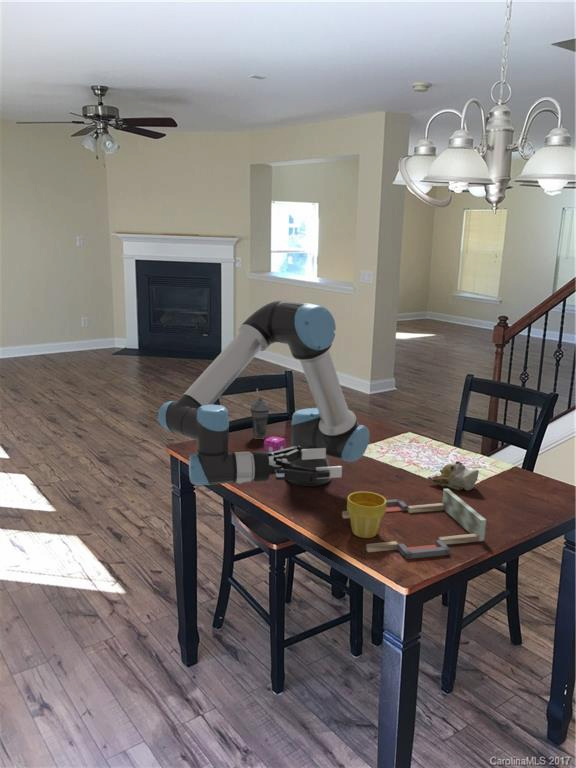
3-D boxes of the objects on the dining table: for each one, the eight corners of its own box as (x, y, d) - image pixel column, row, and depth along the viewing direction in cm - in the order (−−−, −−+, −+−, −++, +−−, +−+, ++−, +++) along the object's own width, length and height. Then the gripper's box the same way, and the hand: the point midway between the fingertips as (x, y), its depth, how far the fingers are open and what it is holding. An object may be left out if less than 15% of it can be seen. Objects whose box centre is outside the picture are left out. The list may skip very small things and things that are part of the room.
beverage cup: (270, 440, 239) (271, 390, 234) (251, 441, 237) (252, 391, 233) (266, 434, 246) (267, 385, 241) (248, 435, 244) (249, 386, 240)
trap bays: (362, 506, 182) (362, 502, 182) (400, 503, 185) (400, 498, 184) (405, 559, 153) (406, 553, 152) (450, 554, 155) (450, 549, 155)
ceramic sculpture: (472, 469, 189) (427, 461, 198) (471, 496, 191) (426, 486, 200) (485, 461, 197) (441, 453, 206) (483, 486, 199) (440, 477, 208)
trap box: (341, 516, 175) (342, 496, 174) (446, 507, 183) (448, 488, 181) (368, 552, 155) (369, 530, 154) (484, 540, 163) (486, 519, 162)
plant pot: (380, 523, 171) (382, 490, 169) (387, 541, 161) (389, 507, 159) (343, 523, 171) (344, 490, 169) (348, 541, 161) (349, 506, 159)
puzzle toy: (263, 455, 223) (264, 440, 222) (272, 450, 228) (272, 436, 227) (277, 458, 220) (277, 443, 219) (285, 453, 225) (285, 438, 224)
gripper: (243, 463, 167) (318, 459, 172) (261, 501, 143) (347, 494, 148) (243, 436, 165) (320, 433, 170) (261, 470, 141) (349, 465, 146)
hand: (333, 462), depth 159 cm, fingers open, 13 cm apart
